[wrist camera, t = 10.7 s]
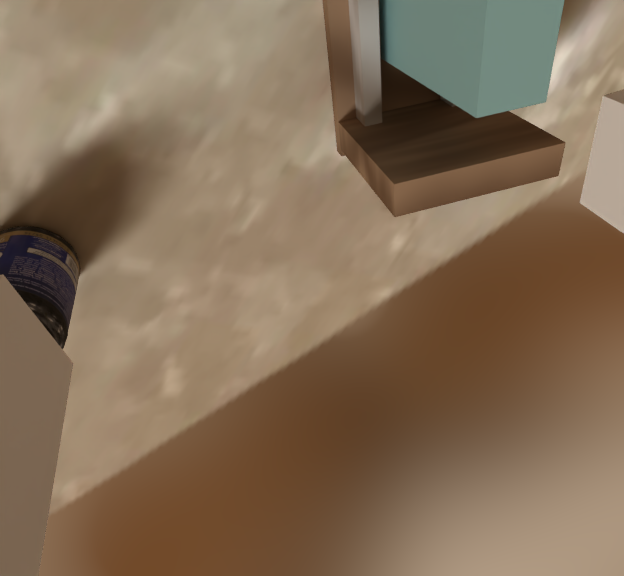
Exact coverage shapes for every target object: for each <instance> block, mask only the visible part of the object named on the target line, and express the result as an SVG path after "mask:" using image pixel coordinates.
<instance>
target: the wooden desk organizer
mask: <svg viewBox="0 0 624 576" xmlns="http://www.w3.org/2000/svg"><path fill="white" fill-rule="evenodd" d="M323 8H324V18H325V28H326V39H327V49H328V59H329V70H330V80H331V90H332V101H333V111H334V121H335V132H336V142H337V151H338V152H339V154H340V155H341V156H344V155H346V157H347V158H348V159H349V160H350V162H351V163H352V164H353V165H354V167H355V168H356V169H357V170H358V172H359V173H360V174H361V175H362V177H363V178H364V179H365V180H366V182H367V183H368V184H369V185H370V187H371V188H372V189H373V190H374V192H375V193H376V194H377V195H378V197H379V198H380V199H381V200H382V202H383V203H384V204H385V206H386V207H387V208H388V209H389V211H390V212H391V213H392V214H393V216H394V217H397V216H401V215H405V214H409V213H413V212H417V211H421V210H425V209H429V208H433V207H437V206H441V205H445V204H449V203H453V202H457V201H461V200H465V199H469V198H473V197H477V196H481V195H485V194H488V193H492V192H496V191H500V190H504V189H508V188H512V187H516V186H520V185H524V184H528V183H532V182H536V181H540V180H544V179H548V178H552V177H556V176H558V175H559V171H560V166H561V162H562V157H563V152H564V148H565V142H564V141H562V140H560V139H558V138H556V137H555V136H553V135H551V134H549V133H547V132H546V131H544V130H542V129H540V128H538V127H536V126H535V125H533V124H531V123H529V122H527V121H526V120H524V119H522V118H520V117H518V116H517V115H515V114H513V113H511V112H509V111H505V112H501V113H497V114H492V115H488V116H484V117H479V118H475V117H474V116H472V115H470V114H469V113H467V112H466V111H464V110H463V109H461V108H459V107H458V106H456V105H455V104H453V103H451V102H450V101H448V100H447V99H445V98H443V97H442V96H440V95H439V94H437V93H435V92H434V91H432V90H431V89H429V88H428V87H426V86H424V85H423V84H421V83H420V82H418V81H416V80H415V79H413V78H412V77H410V76H408V75H407V74H405V73H404V72H402V71H401V70H399V69H397V68H396V67H394V66H393V65H391V64H389V63H388V62H386V61H385V60H383V59H381V41H380V10H379V0H323Z"/></svg>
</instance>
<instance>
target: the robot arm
mask: <svg viewBox="0 0 624 576" xmlns="http://www.w3.org/2000/svg"><path fill="white" fill-rule="evenodd" d="M580 203H581V204H582V205H584V206H585V207H586V208H588V209H589V210H591V211H592V212H594V213H595V214H597V215H598V216H599V217H601V218H602V219H604V220H605V221H607V222H608V223H609V224H611V225H612V226H614V227H615V228H617V229H618V230H619V231H621V232H622V233H624V90H620V91H617V92H614V93H610V94H607V95H604V96H603V98H602V103H601V108H600V112H599V117H598V121H597V126H596V131H595V135H594V140H593V144H592V149H591V154H590V158H589V163H588V167H587V172H586V177H585V182H584V186H583V191H582V195H581V200H580ZM72 367H73V362H72V361H71V360H70V359H69V357H68V356H67V355H66V354H65V352H64V351H63V350H62V348H61V347H60V346H59V345H58V343H57V342H56V341H55V340H54V338H53V337H52V336H51V334H50V333H49V332H48V331H47V329H46V328H45V327H44V326H43V324H42V323H41V322H40V321H39V319H38V318H37V317H36V315H35V314H34V313H33V312H32V310H31V309H30V308H29V307H28V305H27V304H26V303H25V302H24V300H23V299H22V298H21V296H20V295H19V294H18V293H17V291H16V290H15V289H14V288H13V286H12V285H11V284H10V282H9V281H8V280H7V279H6V277H5V276H4V275H3V274H2V275H0V576H38V574H39V568H40V562H41V556H42V550H43V544H44V538H45V532H46V526H47V520H48V513H49V507H50V501H51V495H52V489H53V483H54V477H55V471H56V465H57V459H58V452H59V446H60V440H61V434H62V428H63V422H64V416H65V410H66V404H67V398H68V391H69V385H70V379H71V373H72Z"/></svg>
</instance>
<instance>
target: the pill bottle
mask: <svg viewBox="0 0 624 576" xmlns="http://www.w3.org/2000/svg"><path fill="white" fill-rule="evenodd" d="M2 274H3V275H4V276H5V277H6V279H7V280H8V281H9V282H10V284H11V285H12V286H13V288H14V289H15V290H16V291H17V293H18V294H19V295H20V296H21V298H22V299H23V300H24V302H25V303H26V304H27V305H28V307H29V308H30V309H31V310H32V312H33V313H34V314H35V315H36V317H37V318H38V319H39V321H40V322H41V323H42V324H43V326H44V327H45V328H46V329H47V331H48V332H49V333H50V334H51V336H52V337H53V338H54V340H55V341H56V342H57V343H58V345H59V346H60V347H61V348H62V349H63V348H64V345H65V342H66V339H67V336H68V328H69V324H70V319H71V314H72V309H73V305H74V299H75V294H76V290H77V284H78V279H79V275H80V262H79V259H78V257H77V255H76V253H75V252H74V250H73V248H72V247H71V246H70V245H69V244H68V243H67V242H66V241H65V240H63V239H62V238H61V237H59V236H58V235H57V234H54V233H52V232H50V231H47V230H44V229H40V228H36V227H15V228H10V229H7V230H4V231H1V232H0V275H2Z"/></svg>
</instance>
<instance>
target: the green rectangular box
mask: <svg viewBox="0 0 624 576" xmlns="http://www.w3.org/2000/svg"><path fill="white" fill-rule="evenodd" d="M563 5H564V0H379V10H380V41H381V59H383V60H385V61H386V62H388V63H389V64H391V65H393V66H394V67H396V68H397V69H399V70H401V71H402V72H404V73H405V74H407V75H408V76H410V77H412V78H413V79H415V80H416V81H418V82H420V83H421V84H423V85H424V86H426V87H428V88H429V89H431V90H432V91H434V92H435V93H437V94H439V95H440V96H442V97H443V98H445V99H447V100H448V101H450V102H451V103H453V104H455V105H456V106H458V107H459V108H461V109H463V110H464V111H466V112H467V113H469V114H470V115H472V116H474V117H475V118H479V117H484V116H488V115H492V114H497V113H501V112H505V111H510V110H514V109H518V108H523V107H527V106H531V105H536V104H540V103H544V102H546V99H547V94H548V88H549V83H550V77H551V71H552V66H553V60H554V55H555V49H556V44H557V38H558V33H559V27H560V22H561V16H562V11H563Z"/></svg>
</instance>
